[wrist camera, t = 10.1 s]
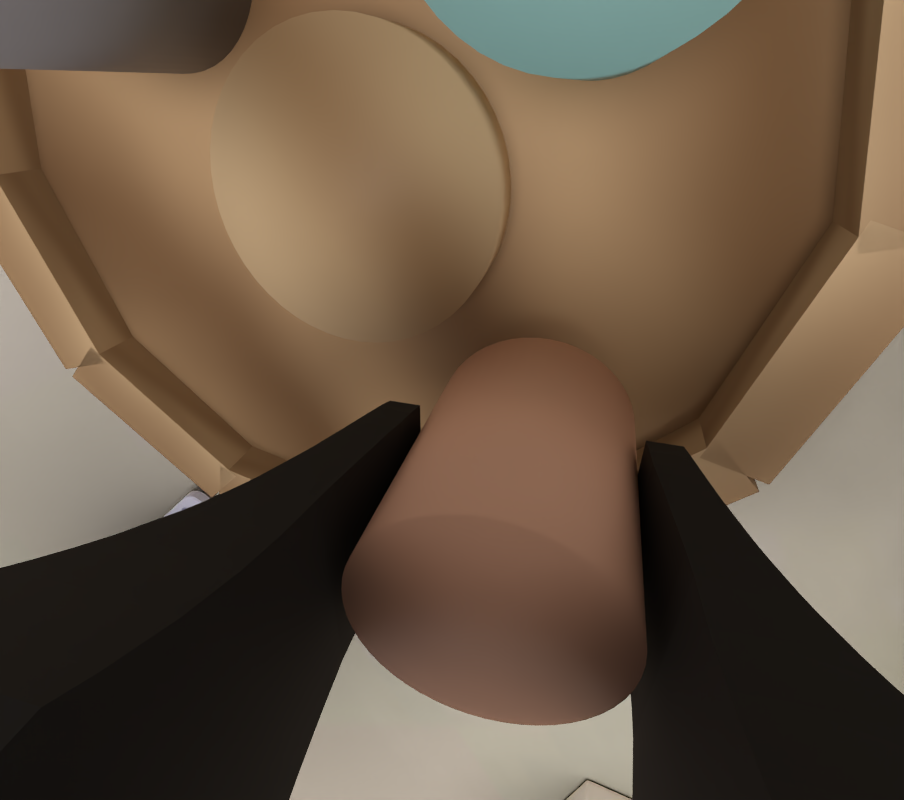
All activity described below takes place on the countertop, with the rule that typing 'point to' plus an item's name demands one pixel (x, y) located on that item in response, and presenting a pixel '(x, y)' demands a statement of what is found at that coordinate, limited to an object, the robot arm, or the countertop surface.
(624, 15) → the bead teal
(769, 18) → the tray
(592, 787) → the milk
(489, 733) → the countertop surface
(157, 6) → the bead charcoal
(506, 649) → the bead terracotta
